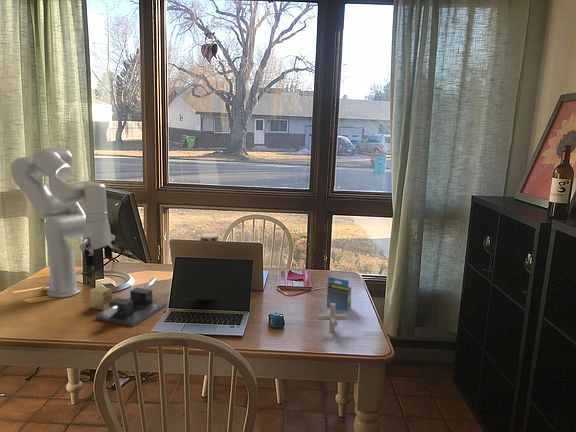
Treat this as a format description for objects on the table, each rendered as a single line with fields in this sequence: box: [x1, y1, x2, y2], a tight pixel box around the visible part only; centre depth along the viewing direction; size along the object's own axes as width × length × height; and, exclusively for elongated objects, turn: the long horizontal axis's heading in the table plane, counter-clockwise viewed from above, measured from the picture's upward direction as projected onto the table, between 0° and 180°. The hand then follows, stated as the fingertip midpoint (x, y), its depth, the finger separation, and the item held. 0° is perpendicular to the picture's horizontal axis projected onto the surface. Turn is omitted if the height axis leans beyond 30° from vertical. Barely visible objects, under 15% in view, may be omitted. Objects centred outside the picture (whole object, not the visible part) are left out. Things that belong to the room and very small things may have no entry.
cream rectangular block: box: [89, 285, 113, 311], centre depth 180 cm, size 4×6×7 cm
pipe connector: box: [317, 303, 348, 333], centre depth 163 cm, size 10×10×10 cm
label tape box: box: [326, 276, 352, 311], centre depth 184 cm, size 9×4×12 cm, turn 62°
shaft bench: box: [95, 277, 167, 327], centre depth 175 cm, size 16×29×9 cm, turn 160°
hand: (99, 262), depth 177 cm, fingers open, 9 cm apart
